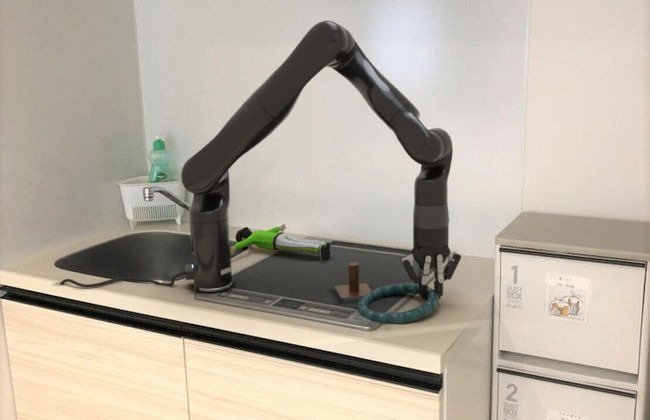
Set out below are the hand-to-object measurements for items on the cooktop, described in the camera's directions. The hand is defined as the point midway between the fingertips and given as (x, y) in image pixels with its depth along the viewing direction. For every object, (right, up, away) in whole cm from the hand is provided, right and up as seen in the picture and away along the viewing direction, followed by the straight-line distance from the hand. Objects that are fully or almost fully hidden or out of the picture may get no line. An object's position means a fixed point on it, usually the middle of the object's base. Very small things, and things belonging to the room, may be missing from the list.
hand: (430, 298), depth 151 cm
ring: (-7, -1, -1) cm, 8 cm away
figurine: (-36, +7, +43) cm, 57 cm away
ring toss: (-16, -1, +10) cm, 19 cm away
